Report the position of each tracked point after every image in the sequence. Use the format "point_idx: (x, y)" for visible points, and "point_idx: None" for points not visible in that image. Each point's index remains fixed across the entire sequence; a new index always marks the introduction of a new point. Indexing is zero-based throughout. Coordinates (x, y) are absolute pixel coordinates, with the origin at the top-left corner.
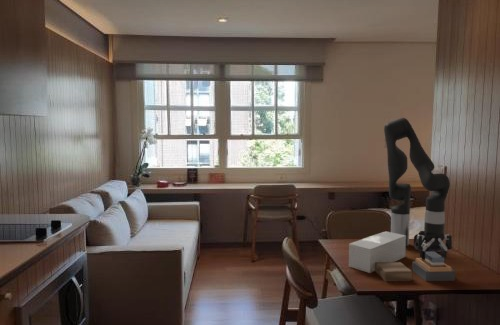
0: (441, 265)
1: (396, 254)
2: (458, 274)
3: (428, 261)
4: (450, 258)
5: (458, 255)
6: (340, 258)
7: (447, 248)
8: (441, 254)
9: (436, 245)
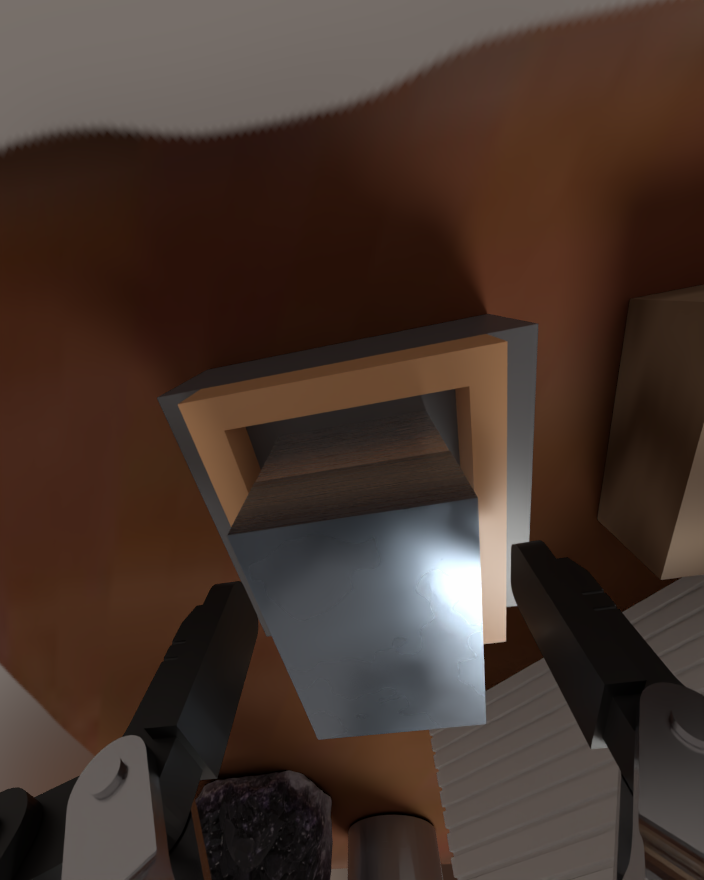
0: (300, 454)
1: (540, 724)
2: (155, 511)
3: None
4: None
5: None
6: None
7: (68, 815)
8: (240, 669)
9: (218, 835)
